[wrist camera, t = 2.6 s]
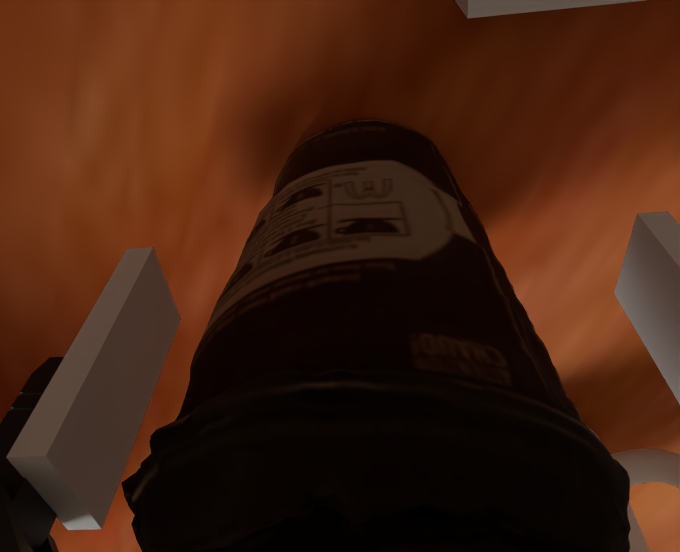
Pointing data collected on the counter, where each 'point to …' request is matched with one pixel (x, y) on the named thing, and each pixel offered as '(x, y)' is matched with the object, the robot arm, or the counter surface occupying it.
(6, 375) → the counter surface
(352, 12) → the counter surface
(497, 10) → the gray square tray
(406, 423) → the coffee cup
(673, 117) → the counter surface
